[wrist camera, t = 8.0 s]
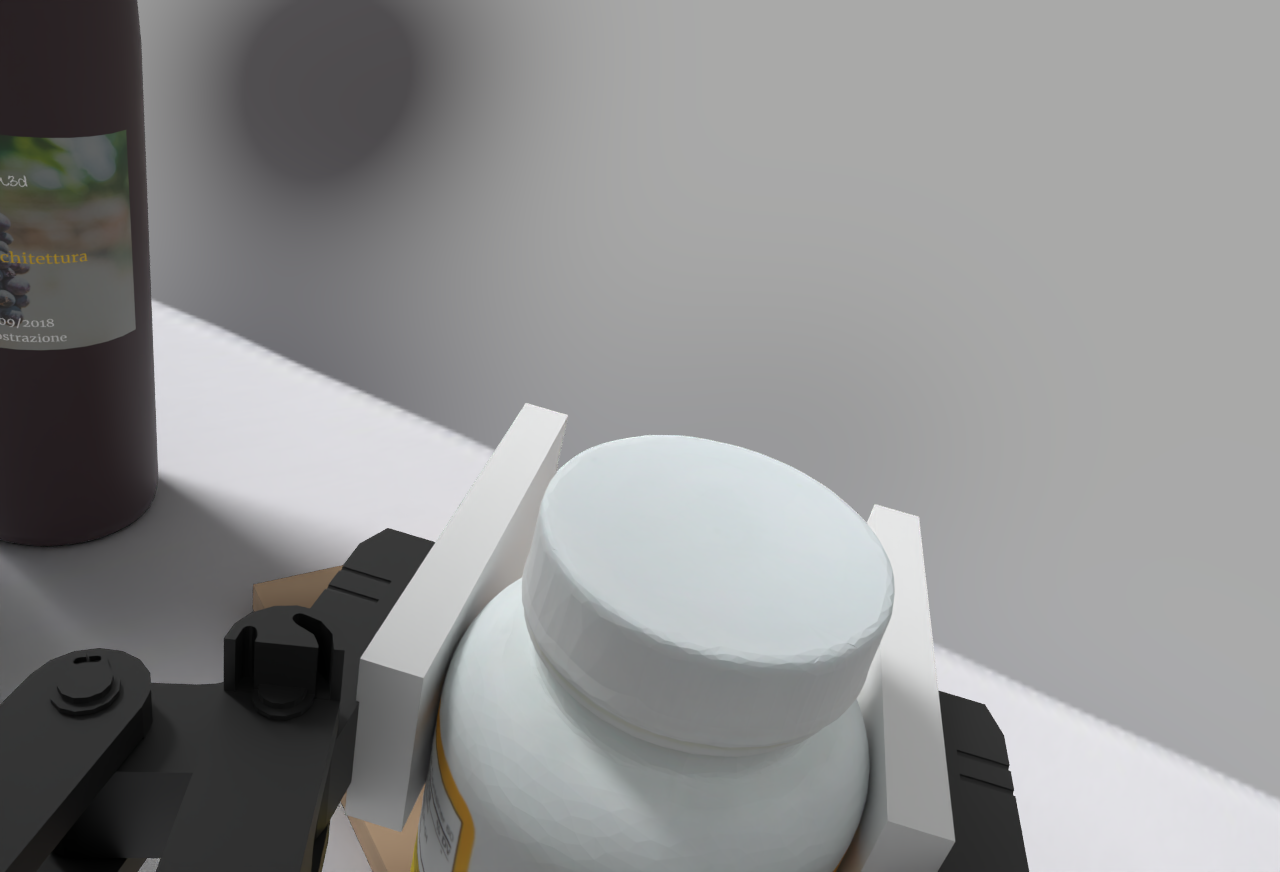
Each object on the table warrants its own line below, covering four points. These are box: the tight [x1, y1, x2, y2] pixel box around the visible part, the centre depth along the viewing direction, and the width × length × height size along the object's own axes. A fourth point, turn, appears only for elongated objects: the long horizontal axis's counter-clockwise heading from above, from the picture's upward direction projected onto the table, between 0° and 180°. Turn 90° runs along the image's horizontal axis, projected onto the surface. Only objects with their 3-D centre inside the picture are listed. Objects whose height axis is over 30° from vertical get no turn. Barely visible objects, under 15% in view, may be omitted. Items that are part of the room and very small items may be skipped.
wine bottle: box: [0, 0, 158, 546], centre depth 33 cm, size 7×7×30 cm
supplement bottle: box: [410, 435, 895, 872], centre depth 13 cm, size 5×5×10 cm
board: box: [253, 565, 426, 872], centre depth 34 cm, size 20×14×4 cm
